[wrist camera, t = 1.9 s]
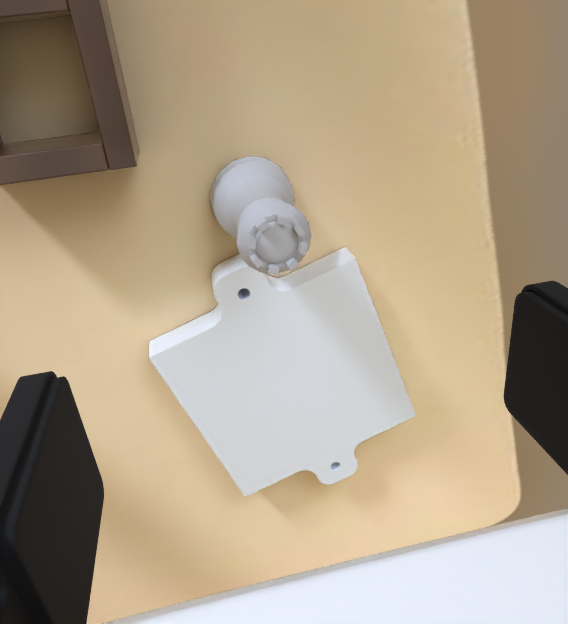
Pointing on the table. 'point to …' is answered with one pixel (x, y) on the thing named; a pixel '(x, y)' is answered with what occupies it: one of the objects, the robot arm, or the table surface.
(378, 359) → the mounting plate
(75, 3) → the piece stand
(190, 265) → the table surface
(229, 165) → the rook chess piece
